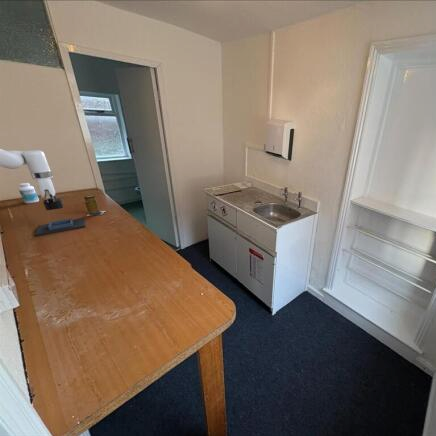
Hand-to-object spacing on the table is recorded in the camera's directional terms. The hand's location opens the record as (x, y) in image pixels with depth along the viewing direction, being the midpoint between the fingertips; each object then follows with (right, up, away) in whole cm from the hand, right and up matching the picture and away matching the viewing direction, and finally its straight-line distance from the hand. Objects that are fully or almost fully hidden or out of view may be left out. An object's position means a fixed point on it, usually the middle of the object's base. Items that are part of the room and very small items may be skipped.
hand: (54, 207), depth 128 cm
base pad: (-1, -11, +5) cm, 12 cm away
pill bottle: (-55, +5, +38) cm, 67 cm away
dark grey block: (0, 0, 0) cm, 0 cm away
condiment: (+3, -3, +24) cm, 24 cm away
